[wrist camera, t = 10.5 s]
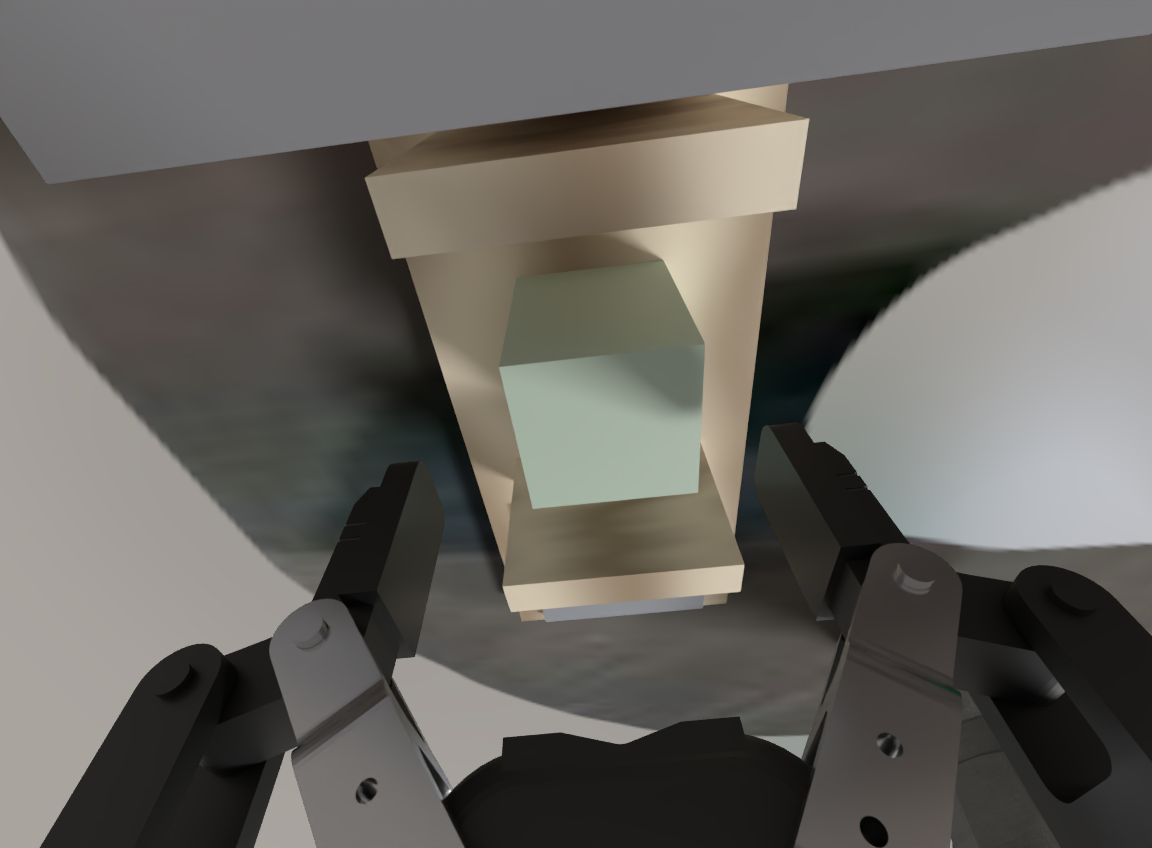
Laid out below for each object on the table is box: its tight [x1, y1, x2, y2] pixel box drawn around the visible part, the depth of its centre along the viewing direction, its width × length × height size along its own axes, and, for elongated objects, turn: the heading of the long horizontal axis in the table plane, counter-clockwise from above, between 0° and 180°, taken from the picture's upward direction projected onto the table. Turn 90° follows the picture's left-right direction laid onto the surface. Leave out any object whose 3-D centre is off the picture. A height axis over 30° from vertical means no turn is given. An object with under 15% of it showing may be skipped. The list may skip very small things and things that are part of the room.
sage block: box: [499, 260, 705, 509], centre depth 16 cm, size 5×5×6 cm
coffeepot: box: [951, 689, 1061, 848], centre depth 26 cm, size 15×9×18 cm, turn 124°
